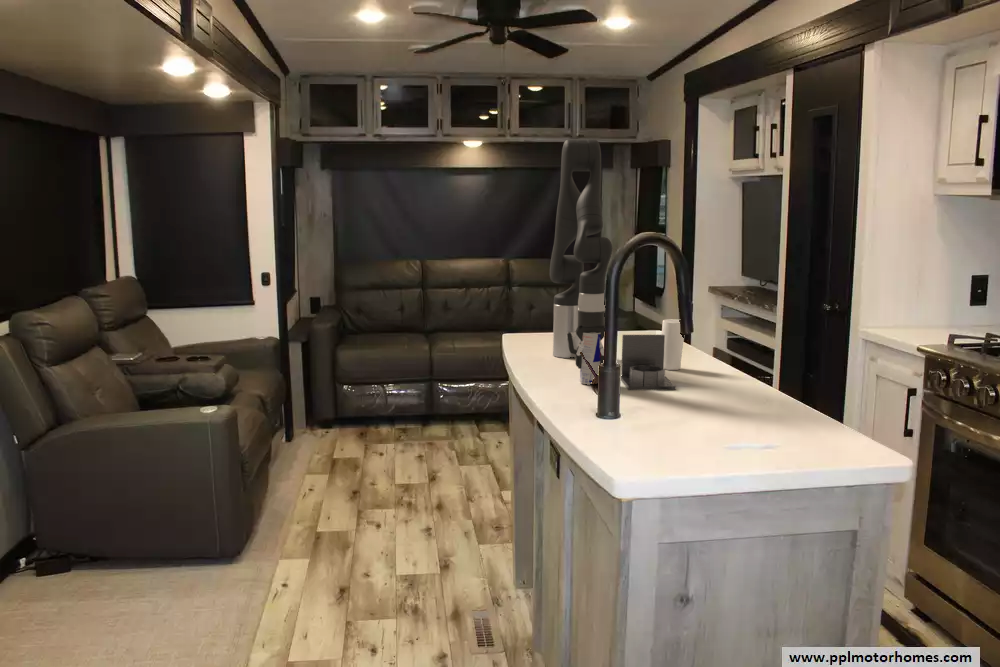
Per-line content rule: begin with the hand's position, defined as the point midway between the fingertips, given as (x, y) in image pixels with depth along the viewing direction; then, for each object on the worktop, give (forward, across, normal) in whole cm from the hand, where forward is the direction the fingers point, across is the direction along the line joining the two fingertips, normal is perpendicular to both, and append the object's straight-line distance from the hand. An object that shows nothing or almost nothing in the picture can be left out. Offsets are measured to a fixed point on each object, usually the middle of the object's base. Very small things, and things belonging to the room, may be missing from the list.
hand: (590, 367), depth 232 cm
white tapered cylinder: (+5, -28, -19) cm, 34 cm away
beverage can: (+5, 0, 0) cm, 5 cm away
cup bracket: (+4, -16, +1) cm, 17 cm away
